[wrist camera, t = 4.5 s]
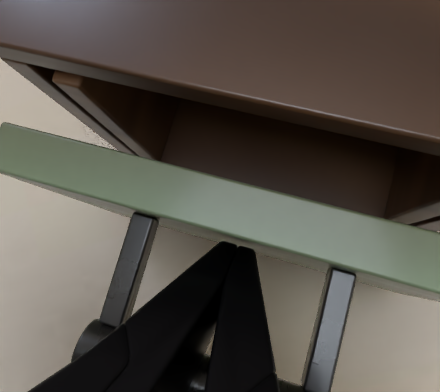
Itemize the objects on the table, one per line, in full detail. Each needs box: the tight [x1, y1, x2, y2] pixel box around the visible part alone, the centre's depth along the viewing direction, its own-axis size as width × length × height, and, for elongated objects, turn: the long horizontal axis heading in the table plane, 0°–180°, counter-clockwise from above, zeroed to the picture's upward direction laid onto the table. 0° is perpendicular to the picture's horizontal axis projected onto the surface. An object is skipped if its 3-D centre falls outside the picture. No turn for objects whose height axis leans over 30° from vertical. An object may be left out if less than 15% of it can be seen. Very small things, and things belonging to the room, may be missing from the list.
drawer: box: [0, 70, 440, 392], centre depth 13 cm, size 18×12×9 cm
